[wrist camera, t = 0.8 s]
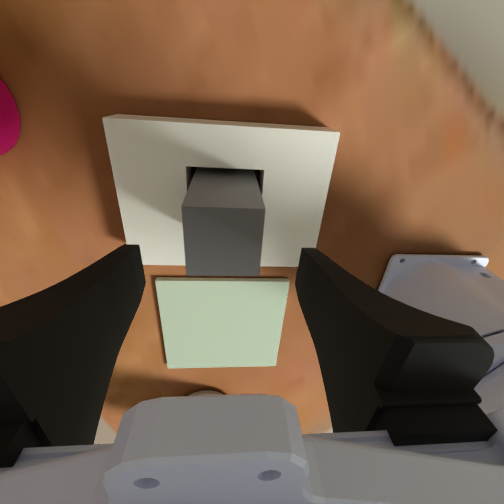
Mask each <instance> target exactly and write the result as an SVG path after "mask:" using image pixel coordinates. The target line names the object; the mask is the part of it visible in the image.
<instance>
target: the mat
mask: <svg viewBox="0 0 504 504" xmlns="http://www.w3.org/2000/svg"><path fill="white" fill-rule="evenodd" d="M155 283H156V290H157V297H158V304H159V311H160V318H161V324H162V331H163V338H164V345H165V352H166V359H167V366H168V368H206V367H251V366H276V361H277V355H278V349H279V343H280V337H281V331H282V325H283V319H284V313H285V307H286V301H287V295H288V289H289V283H290V281H289V278H177V277H156V280H155Z"/></svg>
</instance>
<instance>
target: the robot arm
mask: <svg viewBox="0 0 504 504" xmlns="http://www.w3.org/2000/svg"><path fill="white" fill-rule="evenodd" d="M401 259H402V260H401ZM400 260H401V261H400ZM488 261H489V259H488V258H487V257H486V256H475V255H419V254H395V255H393V256H392V257H391V258H390V260H389V263H388V265H387V268H386V271H385V273H384V276H383V279H382V281H381V284H380V286H379V289H378V290H376V289H374V288H372V287H370V286H369V285H367V284H365V283H364V282H362V281H361V280H359V279H357V278H356V277H354V276H353V275H351V274H350V273H349V272H347V271H346V270H344V269H343V268H341V267H340V266H339V265H337V264H336V263H335V262H333V261H332V260H331V259H330V258H328V257H327V256H326V255H324V254H323V253H322V252H320V251H319V250H317V249H316V248H301V254H300V259H299V265H298V270H297V276H296V281H295V285H296V291H297V296H298V300H299V303H300V306H301V309H302V312H303V315H304V318H305V320H306V323H307V326H308V328H309V331H310V334H311V337H312V339H313V342H314V345H315V349H316V352H317V356H318V360H319V365H320V369H321V373H322V377H323V382H324V387H325V391H326V396H327V401H328V406H329V411H330V416H331V422H332V428H333V433H321V434H302V433H301V428H300V424H299V419H298V414H297V410H296V406H294V405H293V404H291V403H289V402H288V401H286V400H285V399H283V398H281V397H280V396H274V395H266V394H239V395H210V396H180V397H160V398H155V399H150V400H145V401H141V402H139V403H138V404H136V405H135V406H133V407H132V408H130V409H129V410H128V411H126V412H125V413H123V416H122V420H121V423H120V426H119V429H118V432H117V435H116V438H115V441H114V444H97V445H96V444H95V445H93V444H94V440H95V435H96V431H97V427H98V423H99V419H100V415H101V412H102V408H103V404H104V400H105V396H106V393H107V389H108V386H109V382H110V379H111V376H112V372H113V369H114V366H115V363H116V359H117V356H118V353H119V351H120V348H121V346H122V343H123V341H124V339H125V336H126V334H127V332H128V330H129V327H130V325H131V323H132V320H133V318H134V316H135V314H136V311H137V309H138V307H139V304H140V302H141V298H142V295H143V291H144V287H145V283H146V281H145V275H144V269H143V264H142V258H141V252H140V246H139V245H138V244H124V245H122V246H120V247H119V248H117V249H115V250H114V251H112V252H111V253H109V254H107V255H106V256H104V257H103V258H101V259H99V260H98V261H96V262H95V263H93V264H91V265H90V266H88V267H86V268H85V269H83V270H81V271H79V272H78V273H76V274H74V275H72V276H71V277H69V278H67V279H65V280H63V281H61V282H59V283H57V284H55V285H53V286H51V287H49V288H47V289H44V290H42V291H40V292H38V293H35V294H33V295H30V296H28V297H25V298H23V299H20V300H18V301H15V302H13V303H10V304H7V305H5V306H2V307H0V504H504V281H503V280H502V279H501V278H499V277H498V276H496V275H495V274H494V273H492V272H491V271H489V270H488V269H486V268H485V266H486V265H487V263H488Z"/></svg>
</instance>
